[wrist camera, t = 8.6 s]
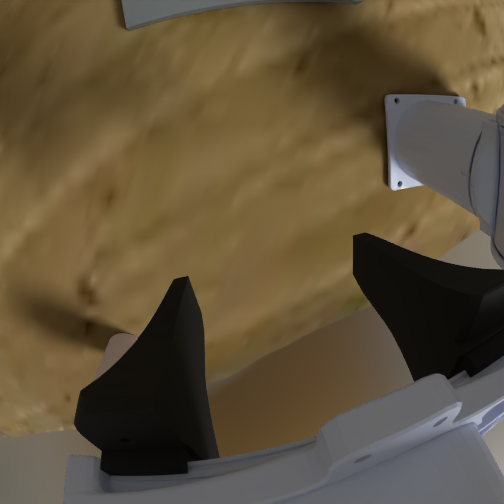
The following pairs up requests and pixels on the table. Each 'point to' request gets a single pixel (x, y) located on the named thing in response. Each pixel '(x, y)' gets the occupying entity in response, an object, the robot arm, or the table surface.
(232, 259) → the table surface
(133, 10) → the holder
